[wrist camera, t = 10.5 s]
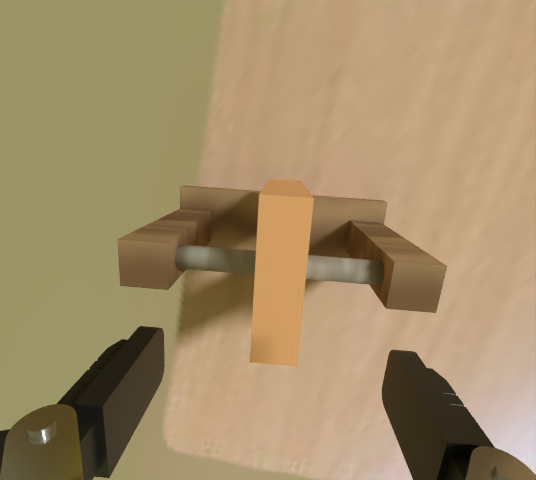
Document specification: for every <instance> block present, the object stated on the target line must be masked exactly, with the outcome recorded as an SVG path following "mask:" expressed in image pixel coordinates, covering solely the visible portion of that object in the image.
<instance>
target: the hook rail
mask: <svg viewBox="0 0 536 480" xmlns="http://www.w3.org/2000/svg"><path fill="white" fill-rule="evenodd" d="M260 192H261V191H249V190H235V189H222V188H209V187H196V186H181V187H180V209H179V210H177V211H175V212H173V213H171V214H169V215H166V216H164V217H162V218H160V219H158V220H156V221H154V222H152V223H150V224H148V225H146V226H144V227H142V228H140V229H138V230H136V231H134V232H132V233H130V234H128V235H125V236H123V237H121V238H119V239H118V253H119V269H120V285H121V286H129V287H142V288H153V289H166V290H168V289H169V288H170V287H171V286H172V285H173V284H174V282H175V281H176V280H177V279H178V278H179V277H180V276H181V274H182V273H183V272H184V271H185V270H186V269H193V270H205V271H217V272H229V273H240V274H252V275H255V261H256V242H257V224H258V206H259V194H260ZM312 196H313V198H314V202H313V212H312V222H311V232H310V242H309V252H308V261H307V271H306V279H312V280H324V281H336V282H348V283H360V284H369V285H370V286H371V287H372V289H373V290H374V292H375V293H376V295H377V296H378V298H379V299H380V301H381V302H382V303H383V305H384V306H385V308H386V309H397V310H409V311H421V312H432V313H436V311H437V306H438V302H439V298H440V294H441V290H442V285H443V281H444V277H445V273H446V268H447V266H446V265H445V264H443V263H442V262H440V261H438V260H437V259H435V258H434V257H432V256H431V255H429V254H428V253H426V252H425V251H423V250H422V249H420V248H419V247H417V246H416V245H414V244H413V243H411V242H409V241H408V240H406V239H405V238H403V237H402V236H400V235H399V234H397V233H396V232H394V231H393V230H391V229H390V228H388V227H387V226H385V225H384V219H385V214H386V208H387V202H385V201H380V200H367V199H354V198H340V197H327V196H314V195H312Z"/></svg>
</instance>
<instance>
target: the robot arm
mask: <svg viewBox="0 0 536 480" xmlns="http://www.w3.org/2000/svg"><path fill="white" fill-rule="evenodd" d="M163 373H164V333H163V329H162V328H155V327H144V326H140V327H139V328H138V329H137V330H136V331H135V332H134V333H133V334H132V336H131V337H130V338H129V339H128V340H124V339H122V340H120V341H119V342H117V343H115V344H113V345H112V346H110V347H108V348H107V349H106V350H105V351H104V353H103V354H102V355H101V356H100V357H99V358H98V360H97V361H95V362H94V363H93V365H92V366H91V367H90V369H89V370H87V371H86V372H85V373H84V374H83V376H82V377H81V378H80V379H79V380H78V381H77V382H76V383H75V384H74V385H73V386H72V387H71V389H70V390H69V391H68V392H67V393H66V394H65V395H64V396H63V397H62V398H61V400H60V401H59V402H58V403H57V404H54V405H49V406H45V407H42V408H39V409H37V410H35V411H33V412H31V413H29V414H27V415H26V416H24V417H23V418H21V419H20V420H19V421H18V422H17V423H16V424H15V425H14V426H13V427H12V428H11V429H9V430H4V431H0V480H92V479H93V478H94V476H95V477H104V478H110V476H111V474H112V472H113V470H114V468H115V466H116V465H117V463H118V461H119V459H120V457H121V455H122V454H123V452H124V450H125V448H126V446H127V444H128V442H129V441H130V439H131V436H132V435H133V433H134V431H135V429H136V428H137V426H138V424H139V422H140V420H141V418H142V417H143V415H144V413H145V411H146V409H147V407H148V405H149V404H150V402H151V400H152V398H153V396H154V394H155V393H156V391H157V389H158V387H159V385H160V383H161V380H162V377H163ZM382 400H383V405H384V408H385V410H386V413H387V415H388V418H389V420H390V423H391V425H392V428H393V430H394V433H395V435H396V438H397V440H398V443H399V445H400V448H401V450H402V453H403V455H404V458H405V460H406V463H407V465H408V468H409V470H410V473H411V475H412V478H413V480H536V475H535V474H534V473H533V472H532V471H531V470H530V469H529V468H528V467H527V466H526V465H525V464H524V463H522V462H521V461H520V460H518V459H517V458H515V457H514V456H512V455H510V454H508V453H506V452H504V451H502V450H499V449H497V448H495V447H494V446H493V444H492V443H491V441H490V440H489V439H488V437H487V436H486V434H485V433H484V432H483V430H482V429H481V428H480V426H479V425H478V423H477V422H476V421H475V419H474V418H473V417H472V415H471V414H470V412H469V411H468V410H467V408H466V407H464V404H463V403H462V401H461V400H460V399H459V397H458V396H456V393H455V392H454V390H453V389H452V387H451V386H450V385H449V383H448V382H447V381H446V380H445V379H444V378H443V377H442V376H440V375H439V374H438V373H437V372H436V371H434V370H433V369H430V368H426V366H425V365H424V363H423V362H422V360H421V359H420V357H419V356H418V355H417V353H416V352H412V351H401V350H391V351H390V353H389V356H388V361H387V366H386V371H385V376H384V380H383V385H382Z"/></svg>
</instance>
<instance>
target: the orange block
mask: <svg viewBox="0 0 536 480" xmlns="http://www.w3.org/2000/svg"><path fill="white" fill-rule="evenodd" d="M313 202H314V198H313V196H312V195H311V194H310V192H309V191H308V190H307V188H306V187H305V186H304V185H303V183H302V182H301V181H289V180H274V179H269V180H268V182H267V183H266V185H265V186H264V188H263V189H262V191H261V192H260V194H259V206H258V224H257V242H256V261H255V279H254V298H253V316H252V334H251V353H250V362H253V363H265V364H277V365H289V366H297V360H298V350H299V340H300V330H301V321H302V311H303V301H304V291H305V281H306V271H307V261H308V252H309V242H310V232H311V222H312V212H313Z"/></svg>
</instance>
